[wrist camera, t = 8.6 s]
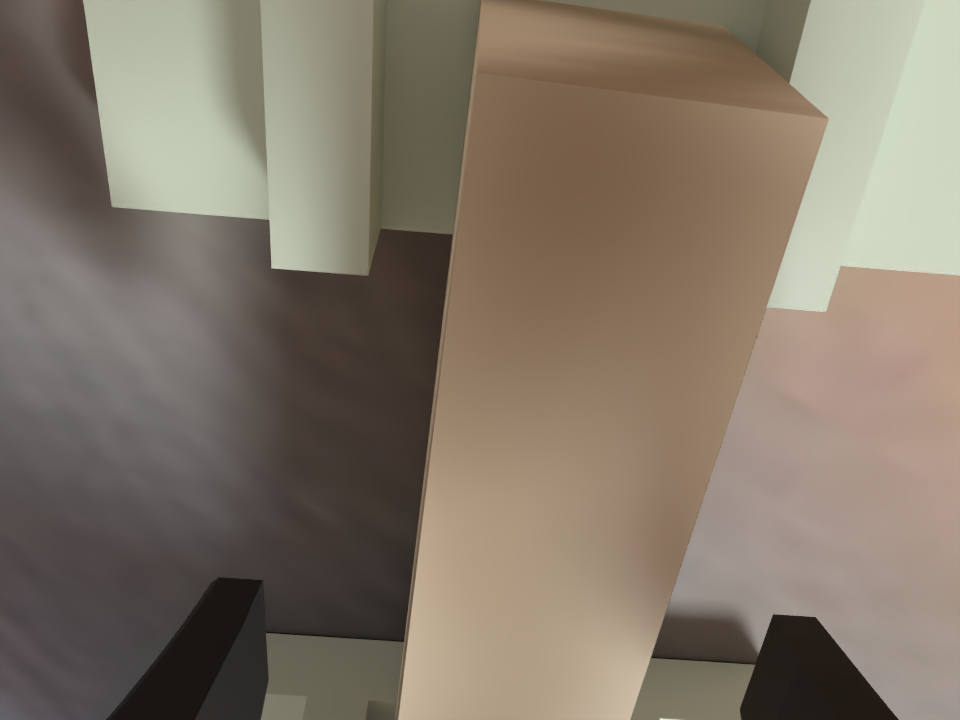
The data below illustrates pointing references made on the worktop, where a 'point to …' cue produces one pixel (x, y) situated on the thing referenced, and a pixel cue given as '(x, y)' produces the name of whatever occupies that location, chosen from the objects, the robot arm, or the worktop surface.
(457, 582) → the bar
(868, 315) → the worktop surface
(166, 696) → the robot arm
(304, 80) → the stand
